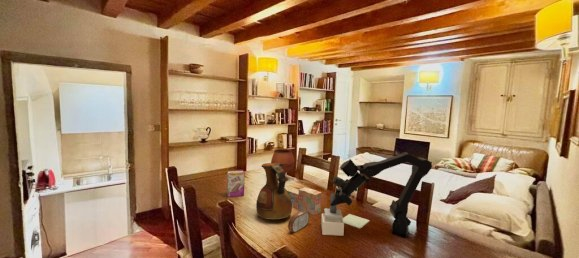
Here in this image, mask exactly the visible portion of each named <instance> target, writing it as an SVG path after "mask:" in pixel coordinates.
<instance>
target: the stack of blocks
mask: <svg viewBox="0 0 579 258" xmlns="http://www.w3.org/2000/svg"><path fill="white" fill-rule="evenodd" d="M287 191H288V193H289V195H290V198H291V201H292V208H294V209H297V210H300V211H302V210H305V211H307V212H308V213H309V215H313V216H317V215H318V214H320V213H321V212H322V209H321V208H322V191H318V190H316V189H313V188H309V187H305V186H304V187H303V188H299V189H297V188H291V189H288V190H287Z"/></svg>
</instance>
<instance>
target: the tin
mask: <svg viewBox="0 0 579 258" xmlns="http://www.w3.org/2000/svg"><path fill="white" fill-rule="evenodd" d="M309 221H310V213H308V212H307V211H305V210H300V211H298V212H296V213H294V214H293V215H291V216H290V218H289V220H288V223H287V229H288V231H289V232H292V233H297V232H298V231H300V230H302V229H304V228H305V227H306V226H307V225H308V224H309Z"/></svg>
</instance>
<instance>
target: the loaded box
mask: <svg viewBox="0 0 579 258" xmlns="http://www.w3.org/2000/svg"><path fill="white" fill-rule="evenodd" d="M320 226H321V233H322V235H324V236H325V235H326V236H338V237H339V236H343V237H344V234H345V233H344V232H345V231H344V230H345V223H344V222H343V218H332V217H325V213H321V221H320Z"/></svg>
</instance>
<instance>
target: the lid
mask: <svg viewBox="0 0 579 258" xmlns="http://www.w3.org/2000/svg"><path fill="white" fill-rule="evenodd" d="M336 197H337V194H335V192H334V193H333V192H332V193H330V199H329V208H324V209H323V213H324V214H325V217H332V218H342V219H343V218H344V217H343V213H342V210H341V208H338V207H337V206H338V205H335V206H331V205H330V204H331V203H332V202H333V200H334V199H335V198H336Z"/></svg>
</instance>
